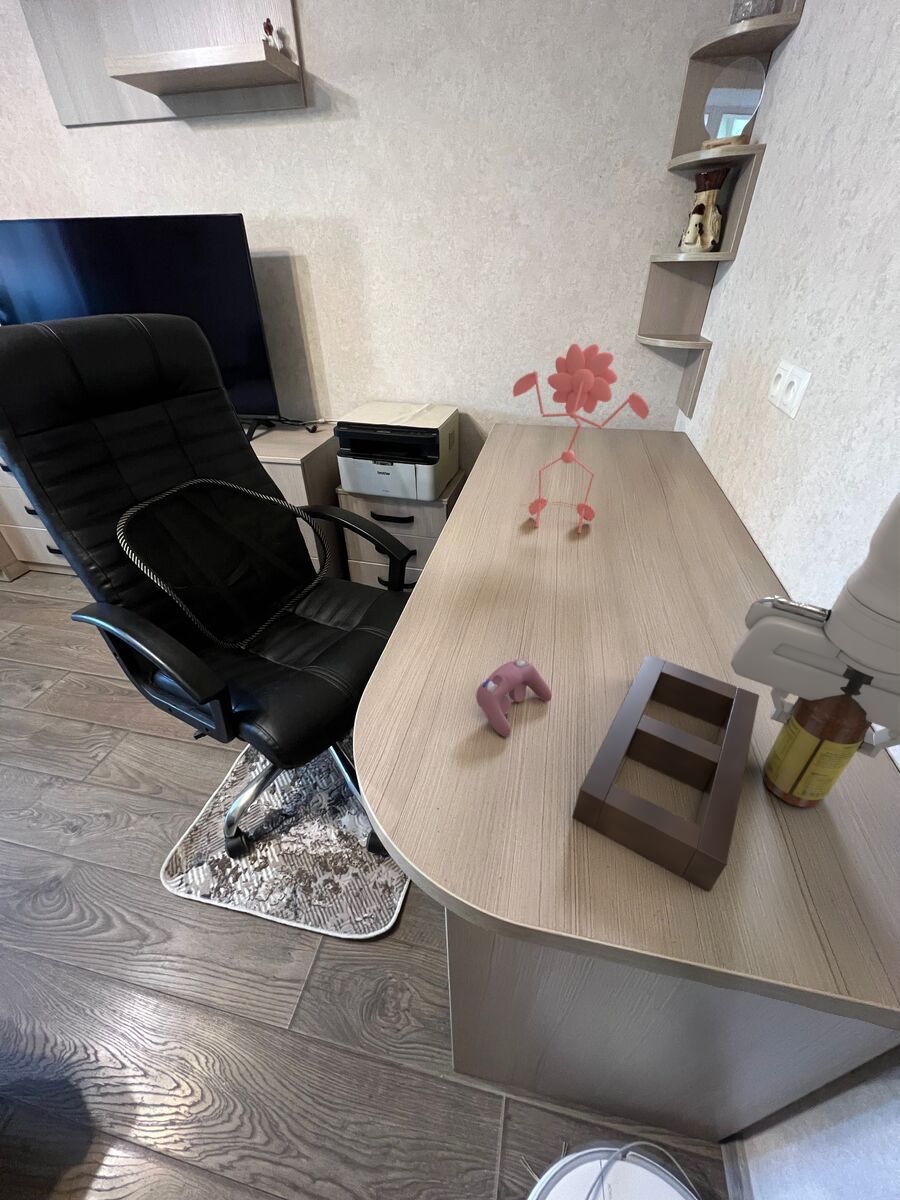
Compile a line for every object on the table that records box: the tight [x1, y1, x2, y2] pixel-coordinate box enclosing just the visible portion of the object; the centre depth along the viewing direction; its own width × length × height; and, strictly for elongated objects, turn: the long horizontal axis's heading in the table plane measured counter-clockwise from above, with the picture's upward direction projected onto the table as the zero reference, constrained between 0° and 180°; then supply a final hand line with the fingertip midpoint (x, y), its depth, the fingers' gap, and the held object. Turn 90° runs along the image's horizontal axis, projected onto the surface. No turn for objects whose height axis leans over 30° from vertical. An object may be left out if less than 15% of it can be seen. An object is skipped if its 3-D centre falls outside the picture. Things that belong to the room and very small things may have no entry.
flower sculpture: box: [512, 343, 650, 538], centre depth 102 cm, size 15×26×35 cm, turn 74°
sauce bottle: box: [762, 665, 874, 808], centre depth 50 cm, size 6×6×20 cm
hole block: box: [572, 653, 760, 893], centre depth 56 cm, size 14×24×5 cm, turn 147°
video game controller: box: [475, 659, 552, 738], centre depth 64 cm, size 10×5×7 cm, turn 135°
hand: (820, 734), depth 51 cm, fingers closed on sauce bottle, 6 cm apart
